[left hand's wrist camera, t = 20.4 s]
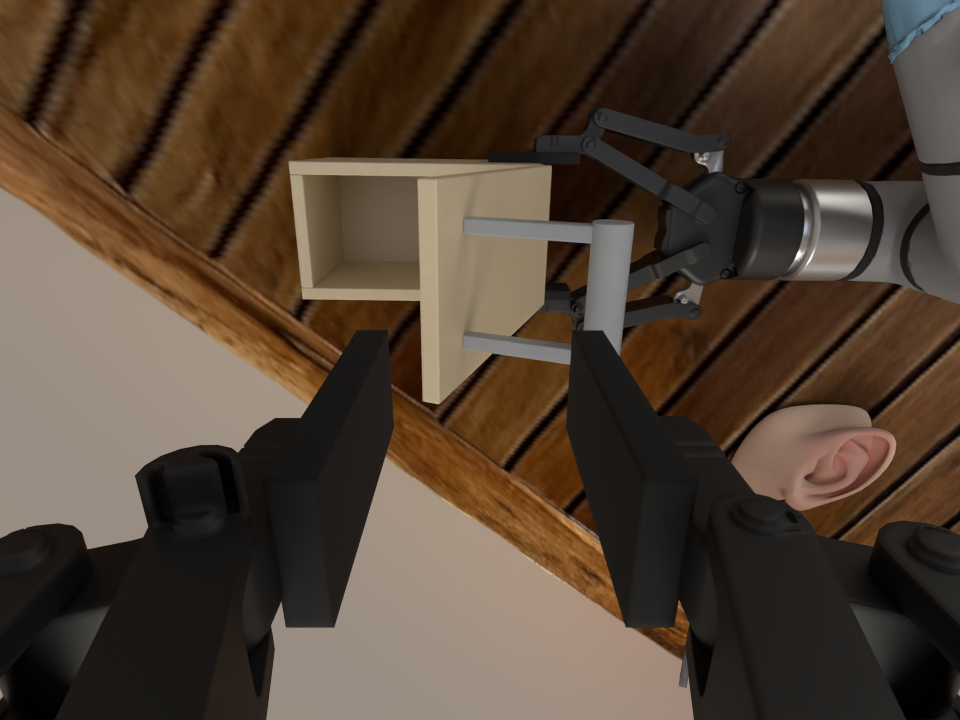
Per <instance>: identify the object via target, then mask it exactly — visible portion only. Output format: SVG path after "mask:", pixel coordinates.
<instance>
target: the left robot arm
mask: <svg viewBox="0 0 960 720" xmlns="http://www.w3.org/2000/svg"><path fill="white" fill-rule="evenodd" d="M393 429H394V422H393V406H392V390H391V374H390V359H389V343H388V330H357V331H356V333H355V335H354V336H353V338H352V339H351V341H350V342H349V344H348V345H347V347H346V349H345V350H344V352H343V353H342V355H341V356H340V358H339V359H338V361H337V363H336V364H335V366H334V367H333V369H332V370H331V372H330V373H329V375H328V376H327V378H326V380H325V381H324V383H323V384H322V386H321V387H320V389H319V390H318V392H317V394H316V395H315V397H314V398H313V400H312V401H311V403H310V404H309V406H308V408H307V409H306V411H305V412H304V414H303V415H302V417H301V418H275V419H273V420H272V421H270V422H268V423H267V424H265V425H264V426H262V427H260V428H259V429H257V430H256V431H255V432H254V433H253V434H252V436H251V437H250V438H249V440H248V441H247V442H246V443H245V445H244V448H242V449H241V450H240V451H239V453H237V452H236V451H235V450H233V449H232V448H229V447H224V446H220V445H199V446H194V447H189V448H183V449H179V450H176V451H173V452H171V453H168V454H165V455H162V456H160V457H158V458H157V459H155V460H153V461H152V462H150V463H148V464H146V465H145V466H144V467H143V468H142V469H141V470H140V471H139V472H138V473H137V474H136V475H135V478H136V481H137V485H138V489H139V493H140V496H141V500H142V504H143V508H144V512H145V515H146V519H147V523H148V529H147V531H146V533H145V535H144V537H143V538H140V539H136V540H132V541H128V542H122V543H117V544H112V545H107V546H103V547H97V548H92V549H87V547H86V544H85V541H84V538H83V534H82V532H81V531H79V530H78V529H77V528H76V527H74V526H72V525H65V524H59V523H57V524H48V525H38V526H33V527H28V528H26V529H21V530H17V531H15V532H12V533H10V534H8V535H7V536H4V537H2V538H0V689H1V692H2V694H3V698H2V699H1V700H0V720H266V717H267V709H268V700H269V692H270V684H271V676H272V668H273V659H274V651H275V648H274V641H273V635H272V629H271V624H272V622H273V619H274V617H275V615H276V612H277V610H278V608H279V605H280V603H281V601H282V607H283V613H284V619H285V625H286V627H334V626H335V623H336V620H337V616H338V613H339V610H340V606H341V603H342V600H343V596H344V593H345V590H346V586H347V583H348V579H349V576H350V573H351V569H352V566H353V563H354V559H355V556H356V552H357V549H358V546H359V543H360V539H361V536H362V533H363V529H364V526H365V523H366V519H367V516H368V513H369V509H370V506H371V503H372V499H373V496H374V492H375V489H376V486H377V482H378V479H379V476H380V472H381V469H382V466H383V462H384V459H385V456H386V452H387V449H388V446H389V442H390V439H391V436H392V432H393ZM566 429H567V432H568V436H569V439H570V442H571V446H572V449H573V452H574V456H575V459H576V462H577V466H578V469H579V472H580V476H581V479H582V482H583V486H584V489H585V492H586V496H587V499H588V503H589V506H590V509H591V513H592V516H593V519H594V523H595V526H596V529H597V533H598V536H599V539H600V543H601V546H602V549H603V553H604V556H605V559H606V563H607V566H608V569H609V573H610V576H611V579H612V583H613V586H614V590H615V593H616V596H617V600H618V603H619V606H620V610H621V613H622V616H623V620H624V623H625V626H626V627H674V625H675V619H676V613H677V607H678V601H679V600H680V603H681V605H682V607H683V610H684V612H685V614H686V616H687V619H688V621H689V623H690V624H689V629H688V635H687V640H686V646H685V651H684V657H683V662H682V668H681V673H680V681H679V686H680V687H685V688H686V687H687V682H688V676H689V683H690V691H691V699H692V707H693V715H694V720H960V696H959V695H958V692H959V689H960V535H958V534H956V533H954V532H952V531H951V530H949V529H946V528H943V527H939V526H937V527H936V526H935V525H932V524H927V523H919V522H910V521H898V522H892V523H887V524H886V525H884V526H883V527H882V528H881V529H879V531H878V534H877V538H876V541H875V544H874V547H871V546H866V545H861V544H856V543H851V542H845V541H840V540H835V539H830V538H826V537H822V536H819V535H816V534H815V532H814V530H813V528H812V526H811V525H810V523H809V522H808V521H807V520H806V518H805V517H804V516H803V515H802V514H801V513H799V512H798V511H796V510H795V509H794V508H792V507H791V506H789V505H788V504H786V503H783V502H781V501H778V500H776V499H774V498H771V497H769V496H764V495H760V494H755V492H754V491H753V490H752V489H751V487H750V486H749V485H748V483H747V482H746V481H745V480H744V478H743V477H742V476H741V474H740V473H739V472H738V471H737V469H736V468H735V467H734V465H733V464H732V463H731V462H730V460H729V459H728V458H726V457H725V454H724V453H723V451H722V450H721V449H720V447H719V446H716V442H715V441H714V440H713V438H712V437H711V436H710V435H709V433H708V432H707V431H706V429H705V428H703V427H701V426H700V425H698V424H697V423H695V422H693V421H692V420H690V419H689V418H687V417H685V416H658V415H657V414H656V412H655V411H654V409H653V408H652V406H651V404H650V403H649V401H648V400H647V398H646V397H645V395H644V394H643V392H642V390H641V389H640V387H639V386H638V384H637V383H636V381H635V380H634V378H633V376H632V375H631V373H630V372H629V370H628V369H627V367H626V366H625V364H624V363H623V361H622V359H621V358H620V356H619V355H618V353H617V352H616V350H615V349H614V347H613V345H612V344H611V342H610V341H609V339H608V338H607V336H606V335H605V333H604V331H603V330H572V343H571V359H570V374H569V390H568V406H567V422H566Z"/></svg>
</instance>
